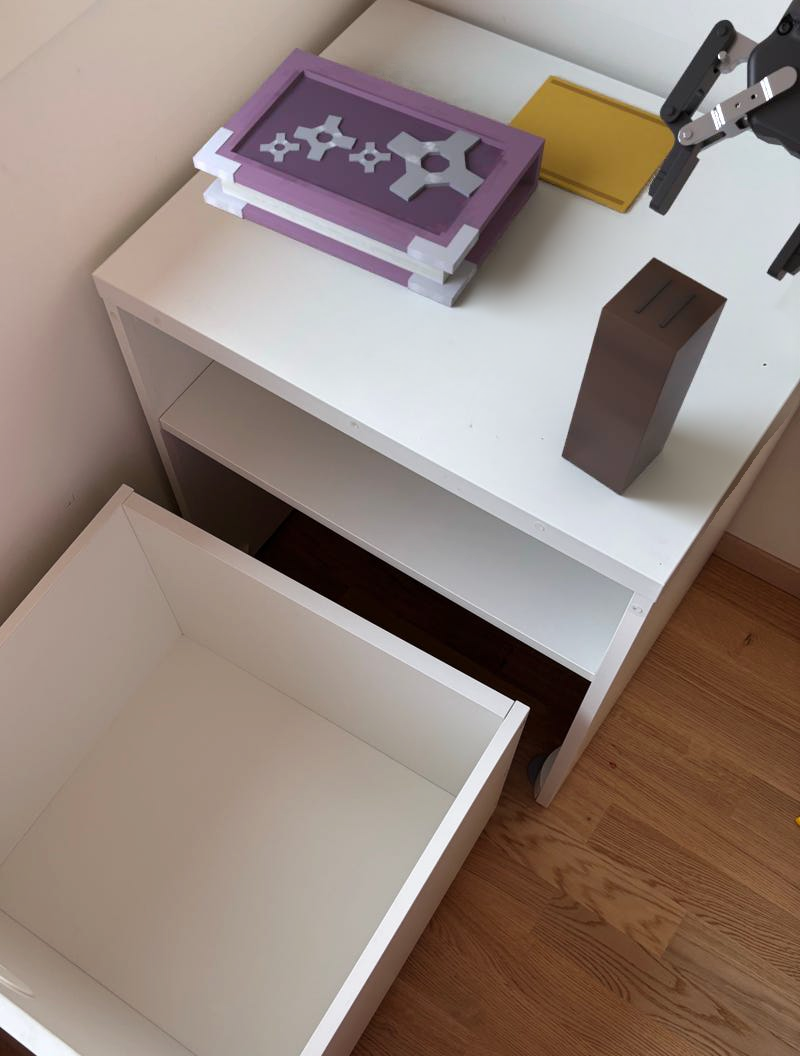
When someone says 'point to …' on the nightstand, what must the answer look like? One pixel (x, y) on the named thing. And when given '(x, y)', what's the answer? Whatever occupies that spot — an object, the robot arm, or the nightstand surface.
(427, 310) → the nightstand surface
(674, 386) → the knife block
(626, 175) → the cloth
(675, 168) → the robot arm
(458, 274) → the book
